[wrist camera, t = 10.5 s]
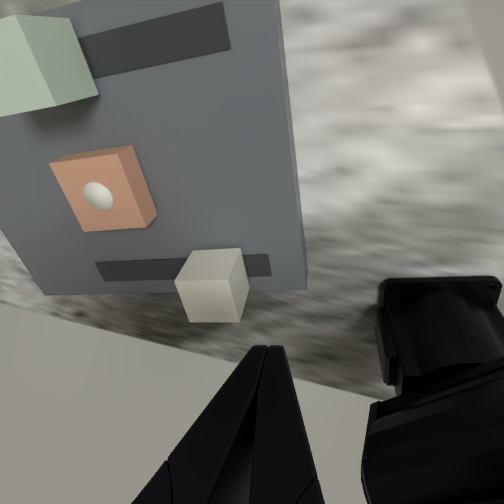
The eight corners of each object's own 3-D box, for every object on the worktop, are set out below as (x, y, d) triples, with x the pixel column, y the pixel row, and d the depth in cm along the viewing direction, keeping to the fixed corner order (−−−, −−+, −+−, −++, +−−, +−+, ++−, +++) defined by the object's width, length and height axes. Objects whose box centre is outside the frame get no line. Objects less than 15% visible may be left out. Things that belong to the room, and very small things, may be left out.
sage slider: (69, 18, 14) (14, 14, 11) (99, 94, 15) (56, 105, 13) (14, 33, 15) (-49, 32, 12) (47, 104, 16) (-2, 117, 14)
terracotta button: (132, 144, 17) (116, 154, 15) (157, 214, 19) (145, 228, 17) (67, 154, 18) (47, 164, 16) (98, 219, 20) (82, 232, 18)
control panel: (274, -43, 13) (267, -54, 12) (307, 270, 22) (306, 290, 20) (-75, 54, 18) (-117, 56, 17) (61, 279, 27) (43, 296, 25)
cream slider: (240, 247, 19) (227, 279, 16) (249, 287, 20) (239, 322, 18) (192, 250, 20) (174, 281, 17) (205, 288, 21) (189, 322, 19)
